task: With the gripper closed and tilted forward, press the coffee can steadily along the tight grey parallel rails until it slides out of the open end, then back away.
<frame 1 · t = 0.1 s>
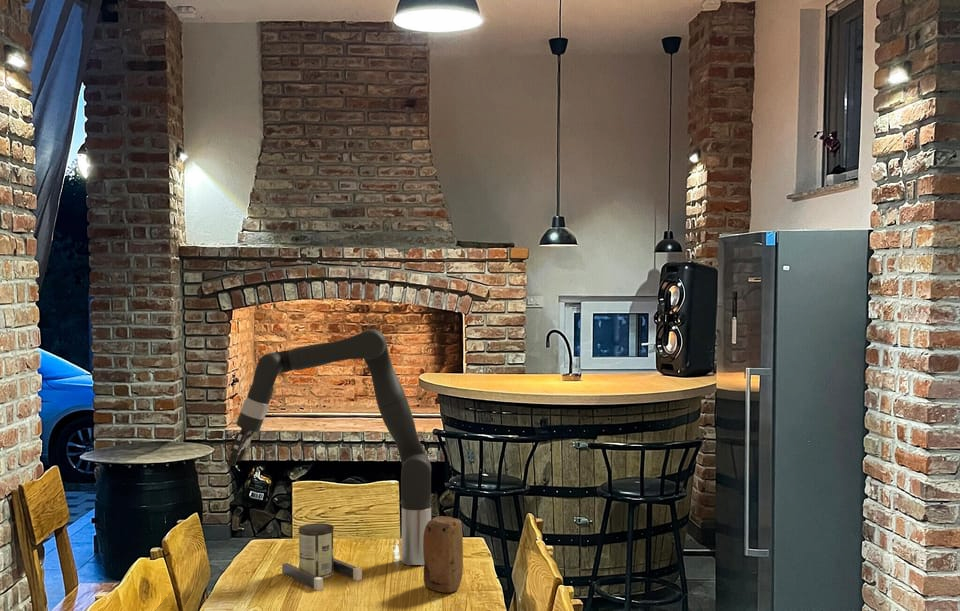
hand: (234, 462, 272), 31 cm above the table, tool tilted 20°, fingers open, 8 cm apart
block: (442, 589, 248), on the table
grey parallel rails: (321, 576, 259), on the table
coffee can: (316, 575, 261), on the table
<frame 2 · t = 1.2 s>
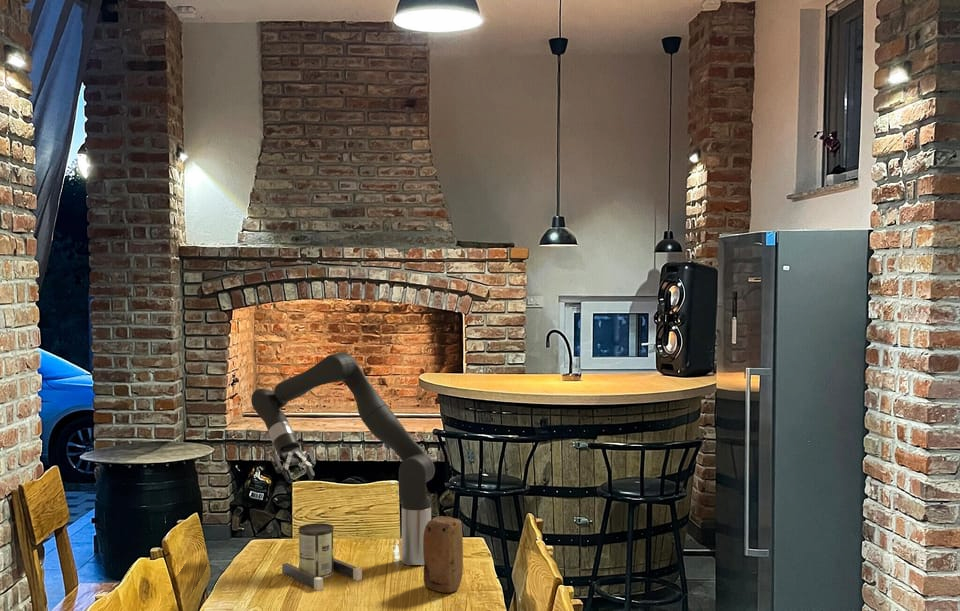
hand: (301, 479, 278), 25 cm above the table, tool tilted 45°, fingers open, 7 cm apart
nothing on the table moved.
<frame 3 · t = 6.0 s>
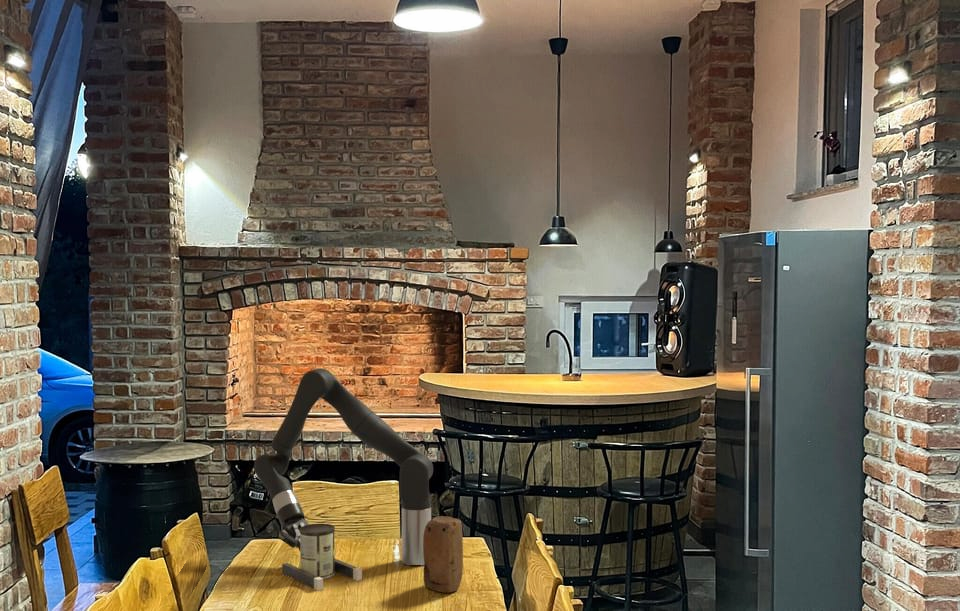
hand: (308, 556, 264), 4 cm above the table, tool tilted 45°, fingers closed
coffee can: (317, 575, 260), on the table, touching gripper
everything else where it was.
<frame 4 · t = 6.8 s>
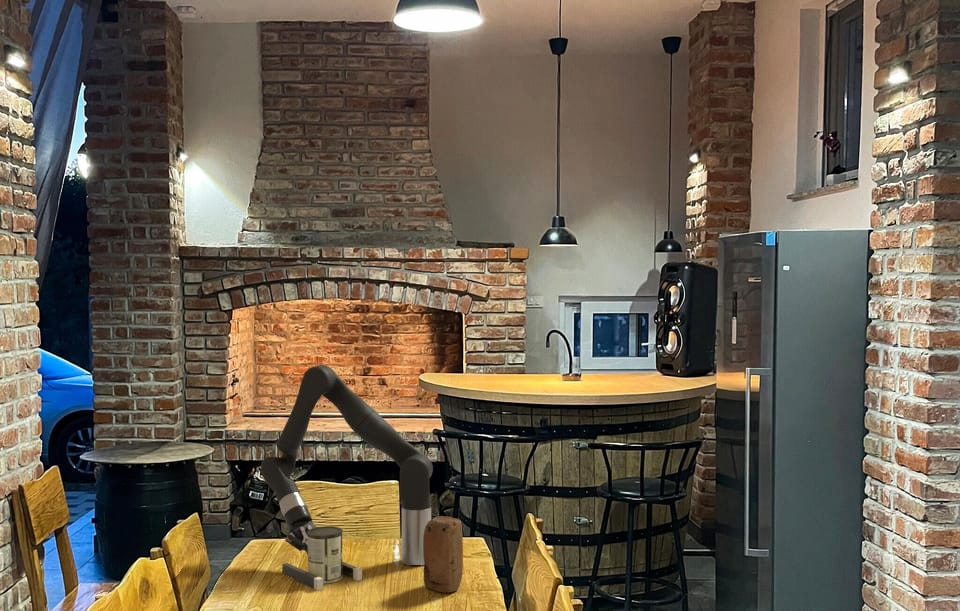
hand: (315, 559, 261), 4 cm above the table, tool tilted 45°, fingers closed
coffee can: (324, 579, 257), on the table, touching gripper
everything else where it was.
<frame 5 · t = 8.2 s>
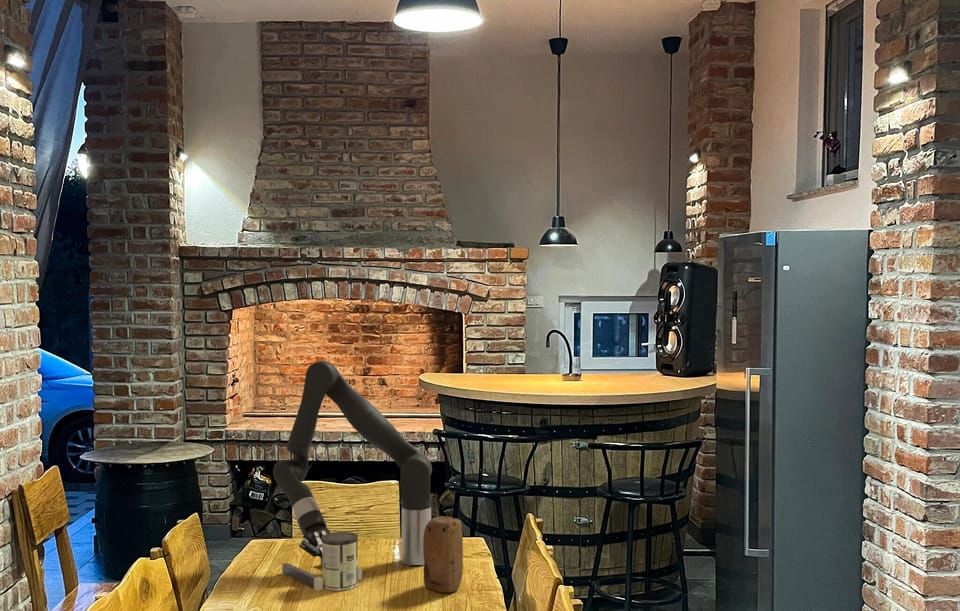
hand: (330, 566, 255), 4 cm above the table, tool tilted 45°, fingers closed
coffee can: (339, 585, 251), on the table, touching gripper
everything else where it was.
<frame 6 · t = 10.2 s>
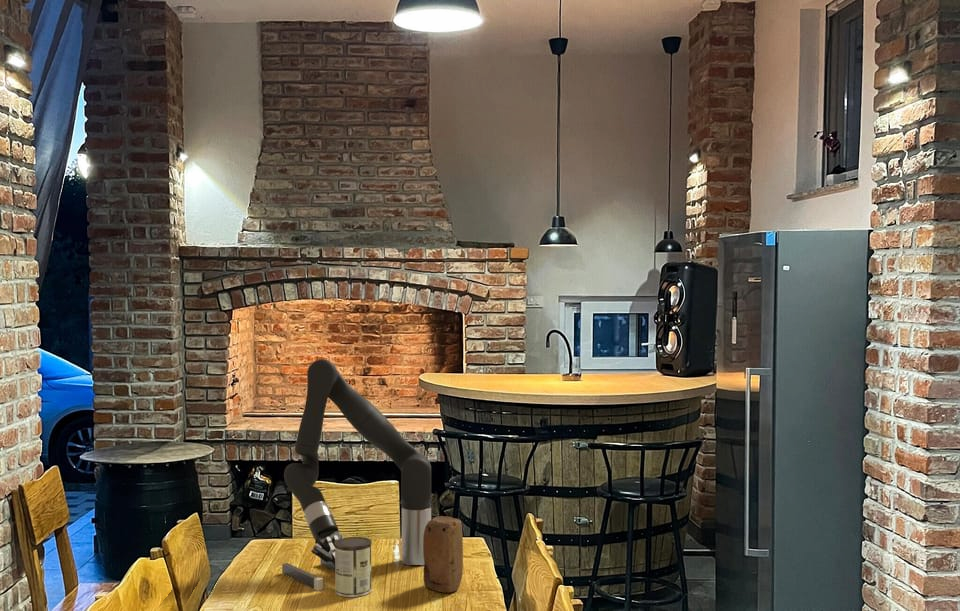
hand: (342, 571, 250), 4 cm above the table, tool tilted 45°, fingers closed
coffee can: (353, 592, 246), on the table, touching gripper
everything else where it was.
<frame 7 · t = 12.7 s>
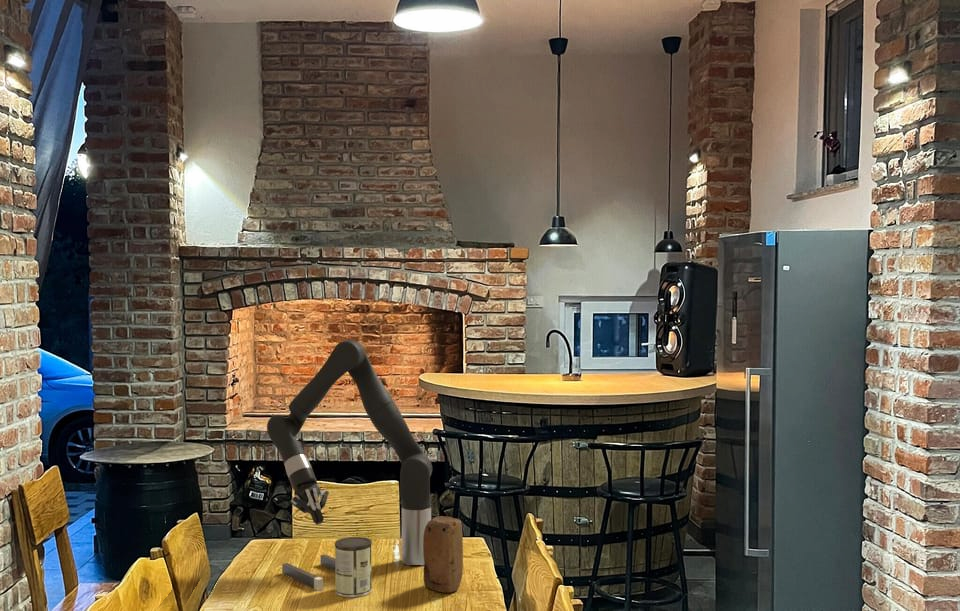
hand: (319, 523, 262), 15 cm above the table, tool tilted 40°, fingers closed
coffee can: (353, 592, 246), on the table
everything else where it was.
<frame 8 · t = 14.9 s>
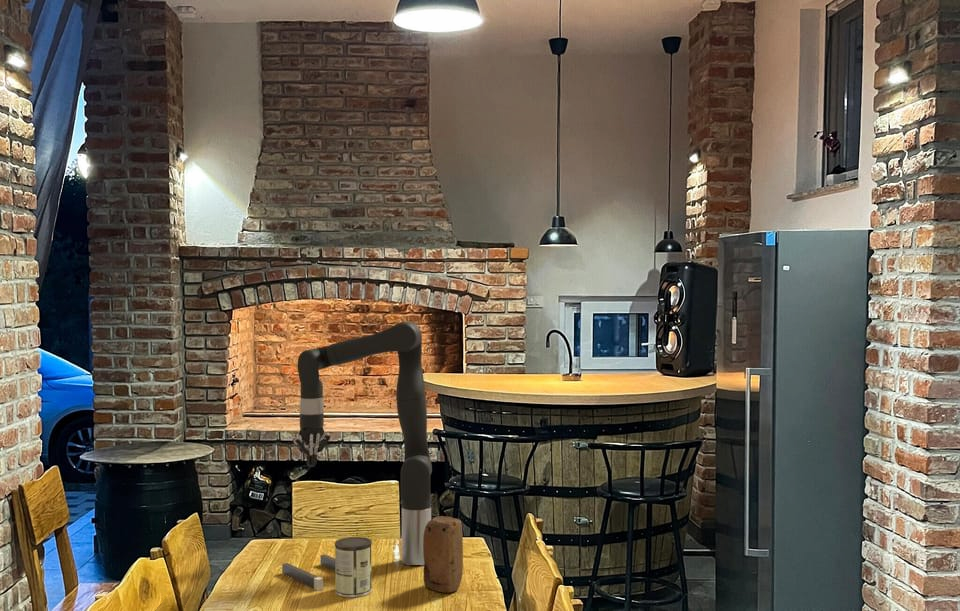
hand: (311, 466, 278), 29 cm above the table, tool pointing down, fingers closed
nothing on the table moved.
at the end: coffee can inside the target area (2.5 cm from its centre), on the table; coffee can tilted 0°; coffee can moved 20.3 cm from its start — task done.
